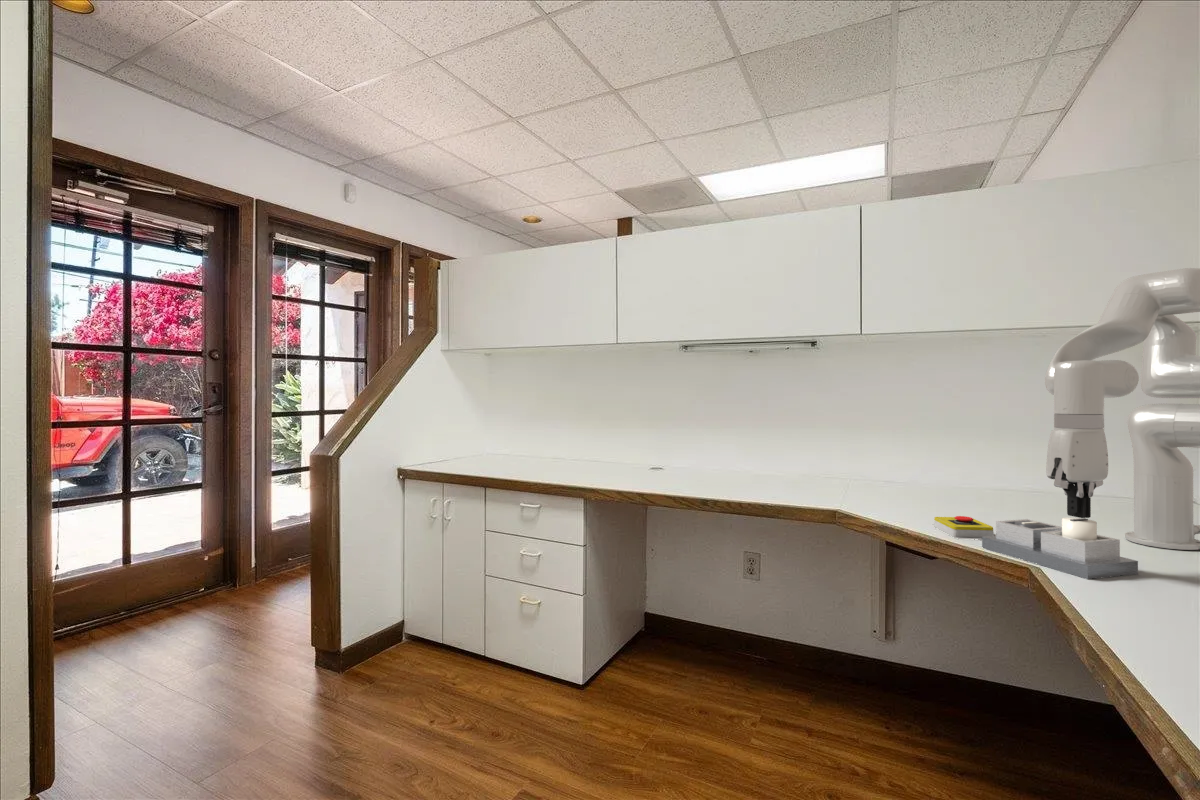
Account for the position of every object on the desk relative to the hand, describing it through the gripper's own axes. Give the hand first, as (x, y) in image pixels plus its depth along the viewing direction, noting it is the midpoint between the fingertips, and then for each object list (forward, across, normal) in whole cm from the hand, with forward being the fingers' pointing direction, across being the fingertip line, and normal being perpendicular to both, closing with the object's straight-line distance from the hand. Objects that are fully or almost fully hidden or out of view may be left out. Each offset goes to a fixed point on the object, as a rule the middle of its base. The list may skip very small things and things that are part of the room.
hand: (1078, 516), depth 109 cm
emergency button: (+11, -2, -29) cm, 31 cm away
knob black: (+10, 0, -10) cm, 14 cm away
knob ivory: (+7, 0, 0) cm, 7 cm away
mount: (+10, 0, -5) cm, 11 cm away
